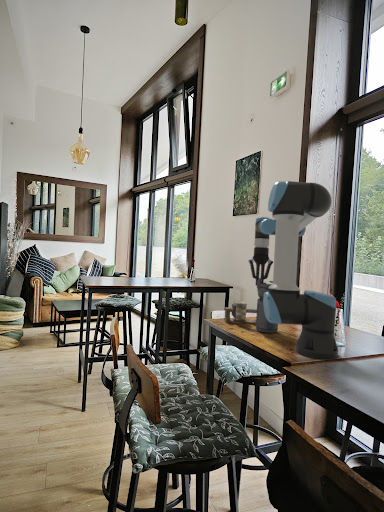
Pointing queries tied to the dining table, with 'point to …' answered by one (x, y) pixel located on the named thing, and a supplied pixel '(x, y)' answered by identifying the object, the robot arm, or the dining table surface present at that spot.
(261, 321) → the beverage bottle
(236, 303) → the sleeve
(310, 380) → the dining table surface
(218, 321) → the dining table surface
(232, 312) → the dark grey flat block
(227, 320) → the pipe stand
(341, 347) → the dining table surface
